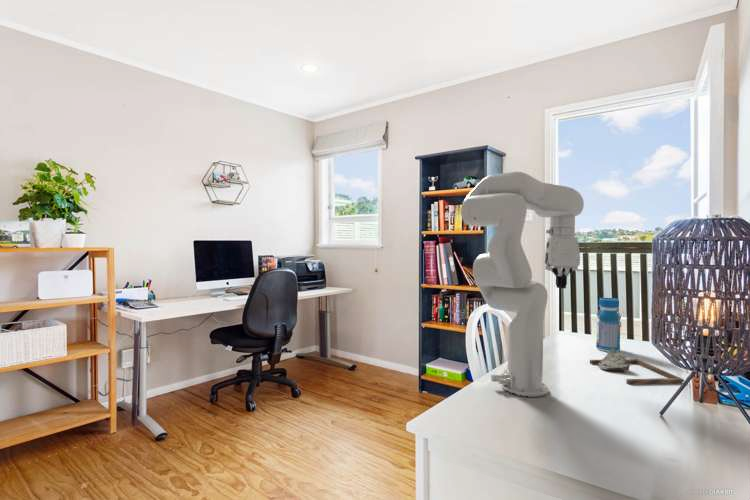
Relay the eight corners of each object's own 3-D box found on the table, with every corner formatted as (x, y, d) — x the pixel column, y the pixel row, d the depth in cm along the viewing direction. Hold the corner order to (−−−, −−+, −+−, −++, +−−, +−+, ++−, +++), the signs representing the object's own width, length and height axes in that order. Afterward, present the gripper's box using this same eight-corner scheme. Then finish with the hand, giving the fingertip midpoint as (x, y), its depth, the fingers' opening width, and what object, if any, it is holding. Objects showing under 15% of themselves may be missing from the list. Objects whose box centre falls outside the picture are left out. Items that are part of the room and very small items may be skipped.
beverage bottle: (605, 353, 154) (606, 300, 154) (590, 347, 163) (591, 297, 162) (625, 352, 155) (627, 300, 155) (610, 346, 164) (611, 297, 163)
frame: (629, 384, 122) (629, 380, 122) (589, 363, 142) (589, 359, 142) (683, 383, 123) (683, 379, 123) (636, 362, 143) (637, 359, 143)
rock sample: (586, 354, 140) (608, 339, 138) (595, 365, 143) (616, 350, 142) (607, 376, 131) (630, 360, 129) (615, 387, 134) (638, 372, 133)
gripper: (545, 233, 131) (544, 289, 132) (590, 233, 132) (589, 289, 133) (535, 233, 139) (534, 286, 140) (577, 233, 140) (576, 286, 141)
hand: (561, 287), depth 136 cm, fingers closed
